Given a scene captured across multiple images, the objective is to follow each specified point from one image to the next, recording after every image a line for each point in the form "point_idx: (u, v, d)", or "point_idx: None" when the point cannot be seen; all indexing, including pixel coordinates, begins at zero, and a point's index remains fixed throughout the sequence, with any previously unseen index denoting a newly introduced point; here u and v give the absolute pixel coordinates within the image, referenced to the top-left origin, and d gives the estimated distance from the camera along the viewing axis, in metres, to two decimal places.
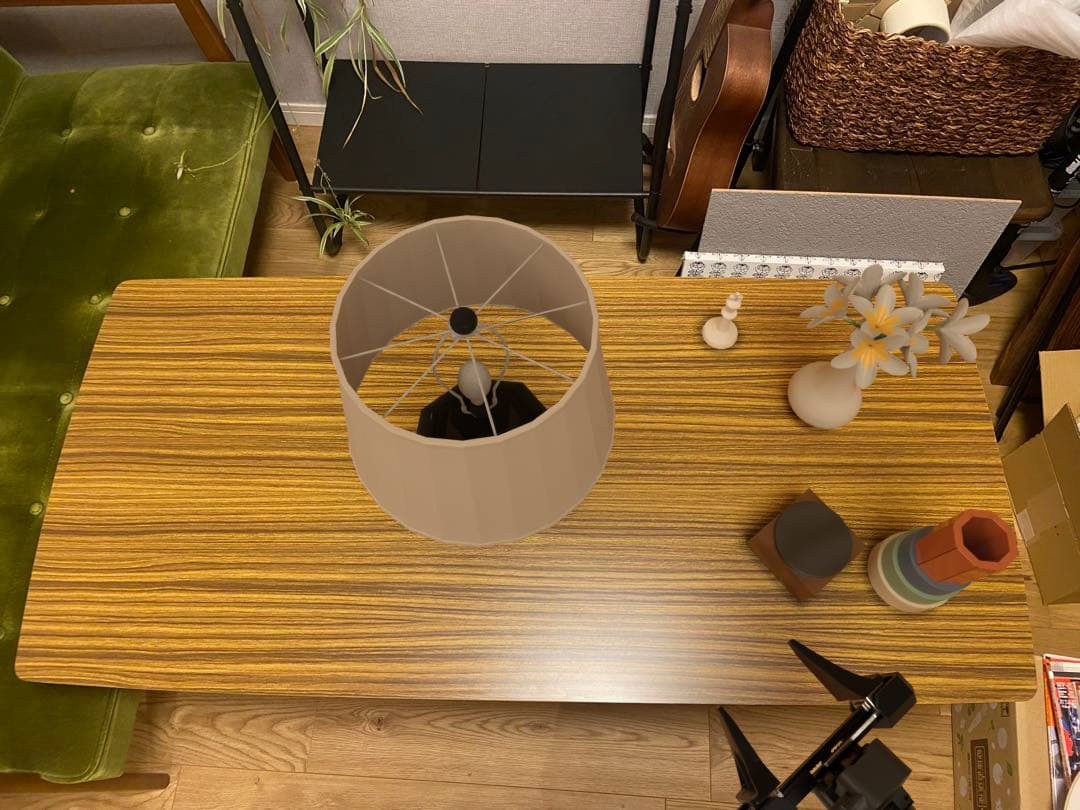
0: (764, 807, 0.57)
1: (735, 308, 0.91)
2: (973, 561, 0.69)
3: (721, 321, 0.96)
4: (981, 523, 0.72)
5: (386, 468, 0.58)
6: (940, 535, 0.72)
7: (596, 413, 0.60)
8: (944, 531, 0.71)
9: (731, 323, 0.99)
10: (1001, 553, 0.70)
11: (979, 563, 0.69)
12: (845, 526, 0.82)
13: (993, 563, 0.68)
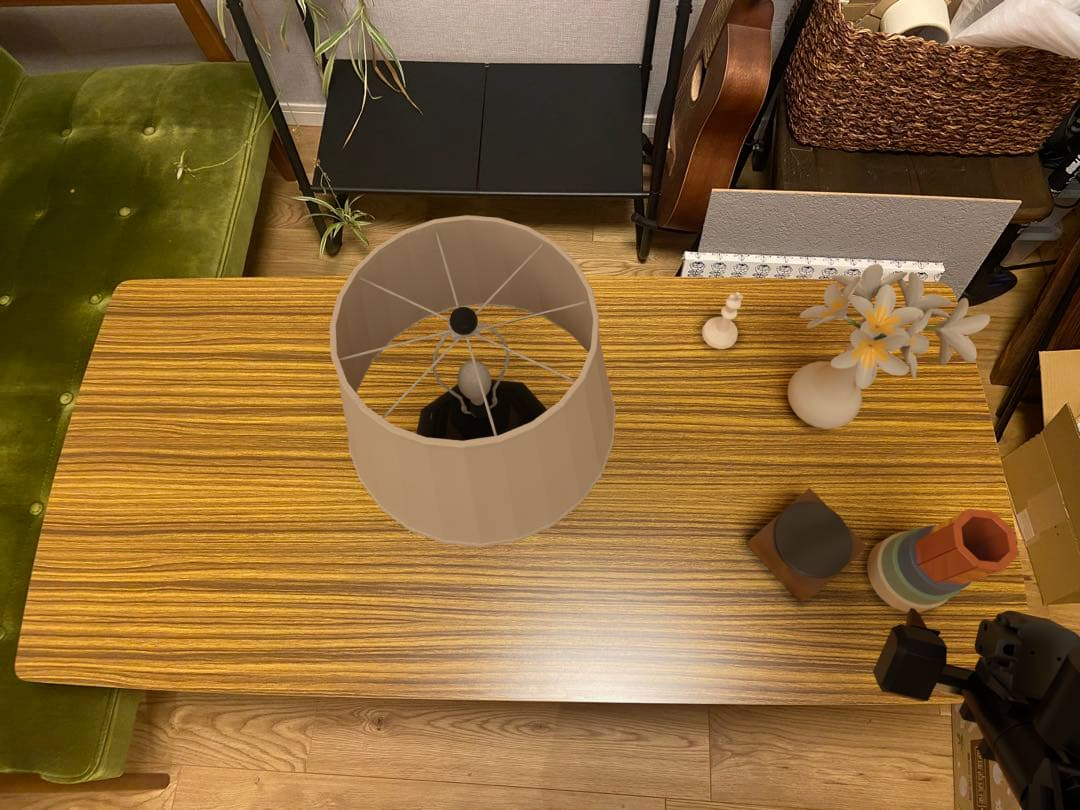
0: (915, 629, 0.62)
1: (735, 308, 0.91)
2: (973, 561, 0.69)
3: (721, 321, 0.96)
4: (981, 523, 0.72)
5: (386, 468, 0.58)
6: (940, 535, 0.72)
7: (596, 413, 0.60)
8: (944, 531, 0.71)
9: (731, 323, 0.99)
10: (1001, 553, 0.70)
11: (979, 563, 0.69)
12: (845, 526, 0.82)
13: (993, 563, 0.68)
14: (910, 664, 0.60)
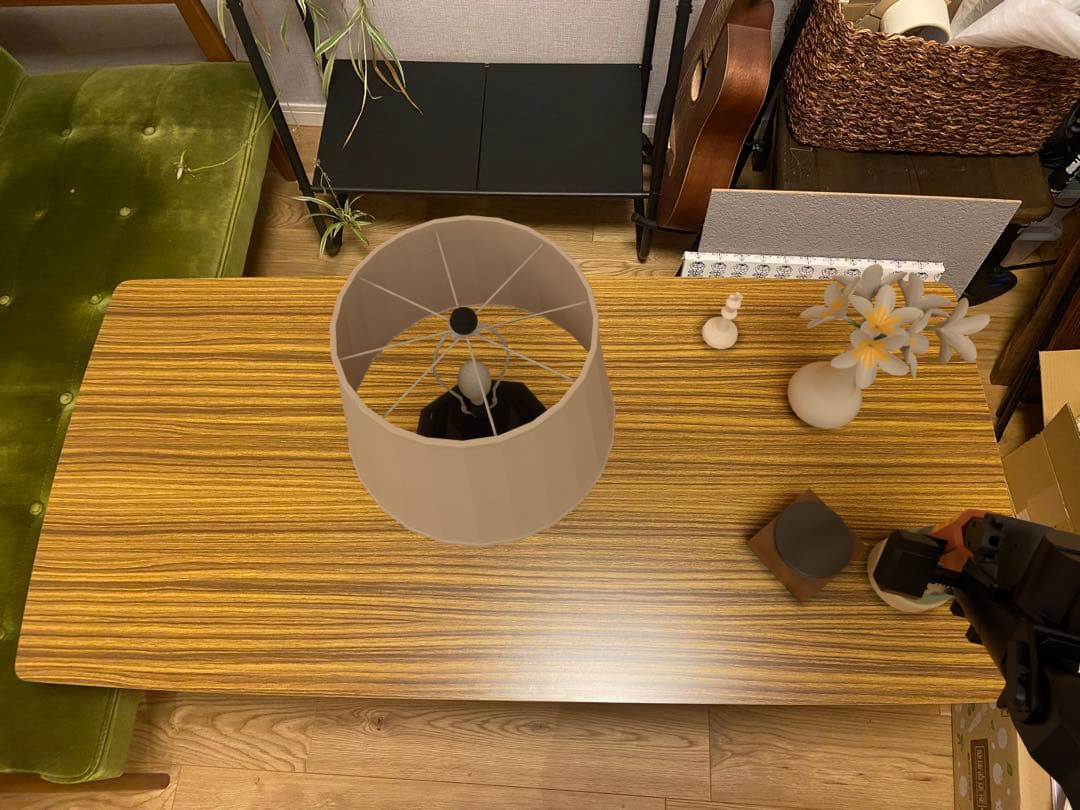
0: (911, 534, 0.69)
1: (735, 308, 0.91)
2: None
3: (721, 321, 0.96)
4: None
5: (386, 468, 0.58)
6: (940, 535, 0.72)
7: (596, 413, 0.60)
8: (944, 531, 0.71)
9: (731, 323, 0.99)
10: None
11: None
12: (845, 526, 0.82)
13: None
14: (906, 562, 0.67)
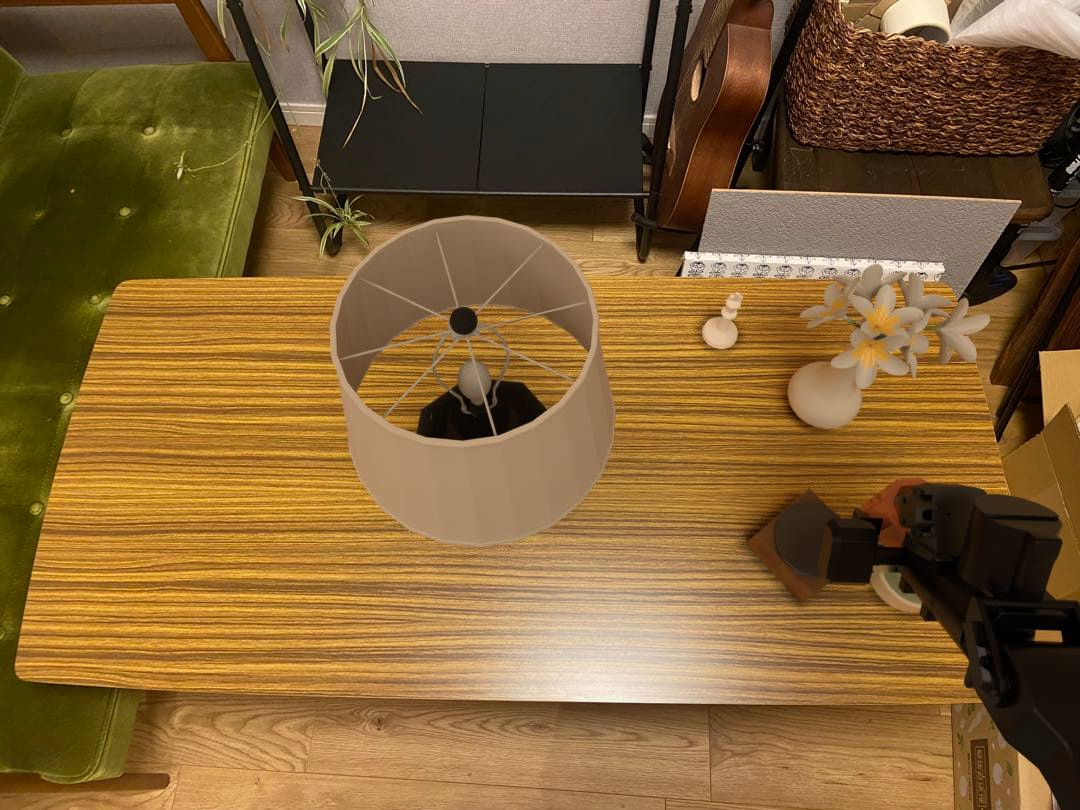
0: (846, 519, 0.66)
1: (735, 308, 0.91)
2: None
3: (721, 321, 0.96)
4: (911, 490, 0.70)
5: (386, 468, 0.58)
6: (874, 511, 0.70)
7: (596, 413, 0.60)
8: (877, 507, 0.70)
9: (731, 323, 0.99)
10: None
11: None
12: None
13: None
14: (847, 551, 0.65)
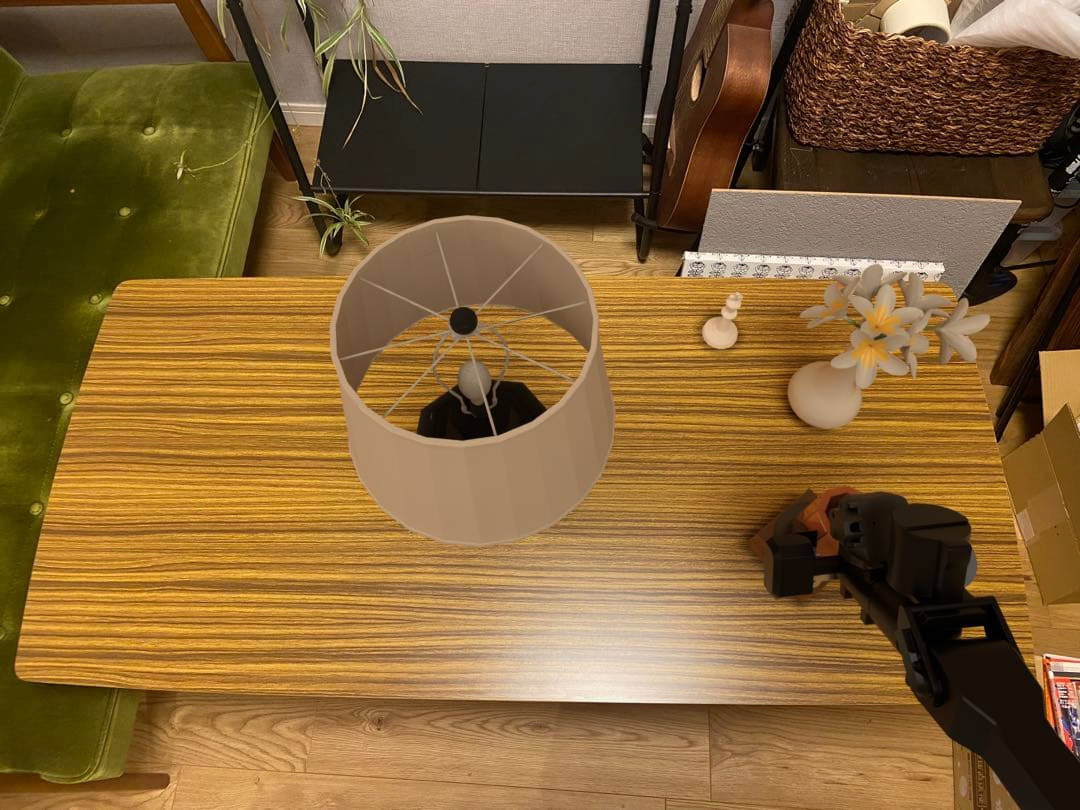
0: (784, 536, 0.70)
1: (735, 308, 0.91)
2: None
3: (721, 321, 0.96)
4: (841, 497, 0.75)
5: (386, 468, 0.58)
6: (810, 522, 0.74)
7: (596, 413, 0.60)
8: (812, 518, 0.73)
9: (731, 323, 0.99)
10: None
11: None
12: None
13: None
14: (788, 568, 0.68)
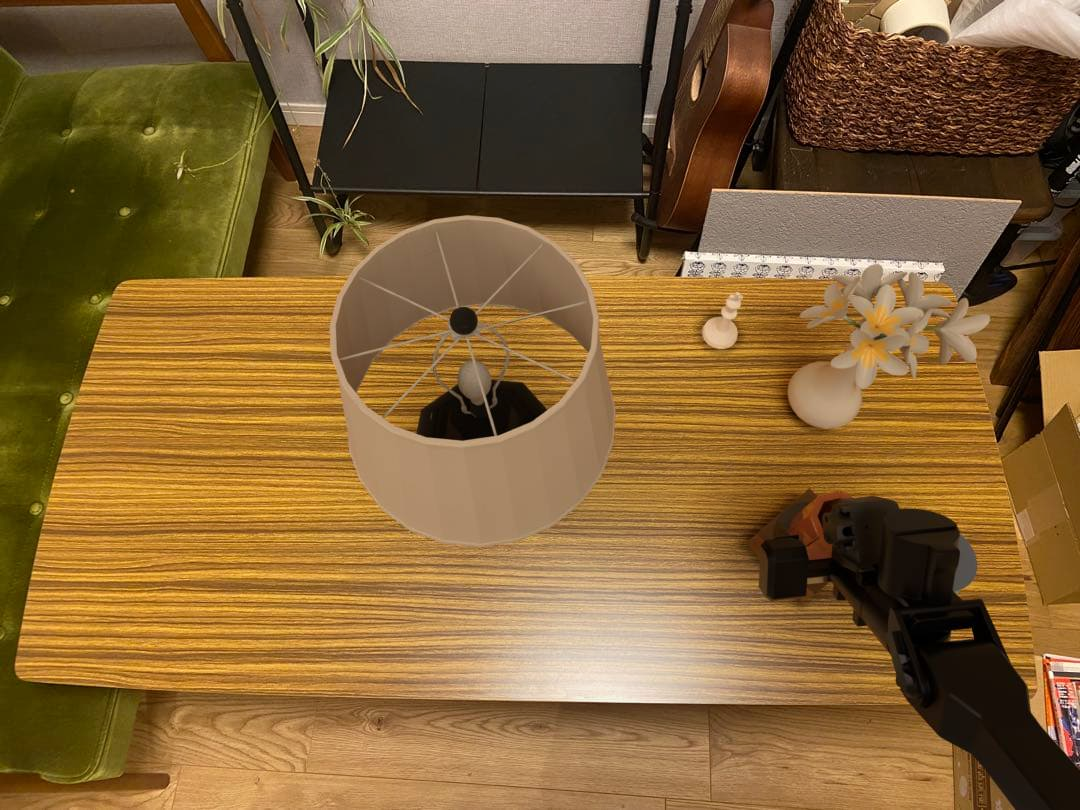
0: (778, 540, 0.72)
1: (735, 308, 0.91)
2: None
3: (721, 321, 0.96)
4: (833, 502, 0.76)
5: (386, 468, 0.58)
6: (803, 526, 0.76)
7: (596, 413, 0.60)
8: (805, 522, 0.75)
9: (731, 323, 0.99)
10: None
11: None
12: None
13: None
14: (782, 570, 0.70)
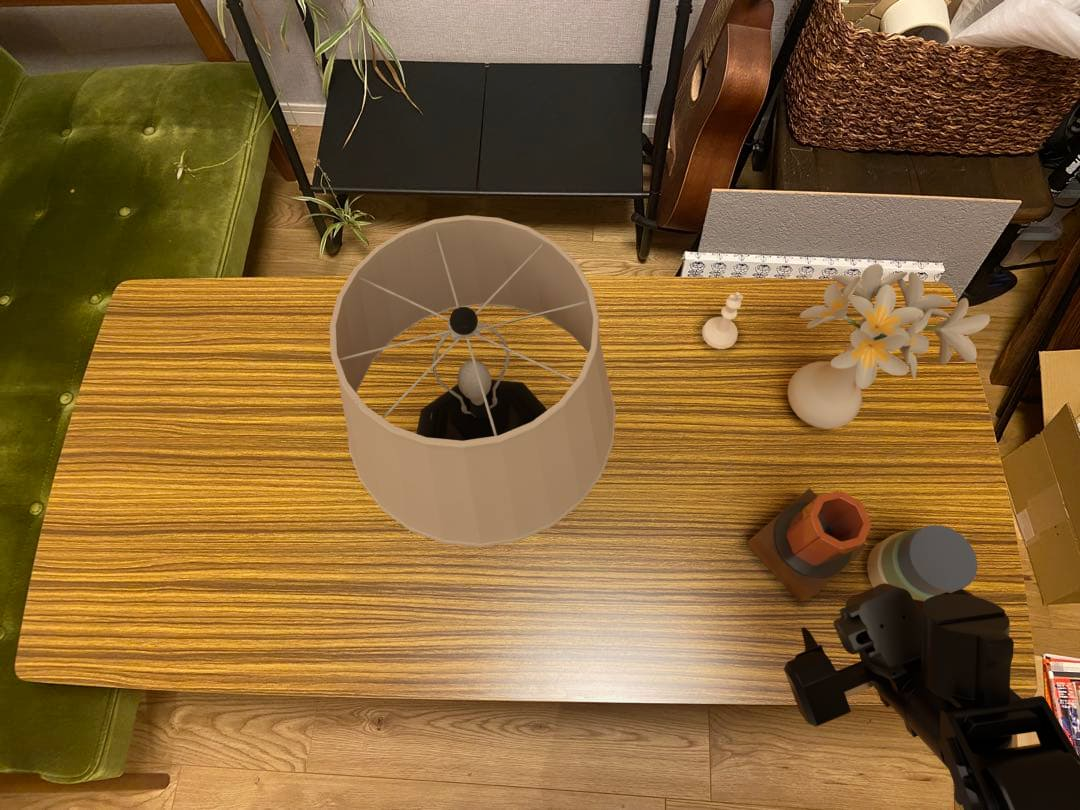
0: (801, 657, 0.66)
1: (735, 308, 0.91)
2: (837, 544, 0.73)
3: (721, 321, 0.96)
4: (833, 502, 0.76)
5: (386, 468, 0.58)
6: (803, 526, 0.76)
7: (596, 413, 0.60)
8: (805, 522, 0.75)
9: (731, 323, 0.99)
10: (858, 525, 0.75)
11: (842, 544, 0.73)
12: None
13: (853, 540, 0.73)
14: (813, 693, 0.63)
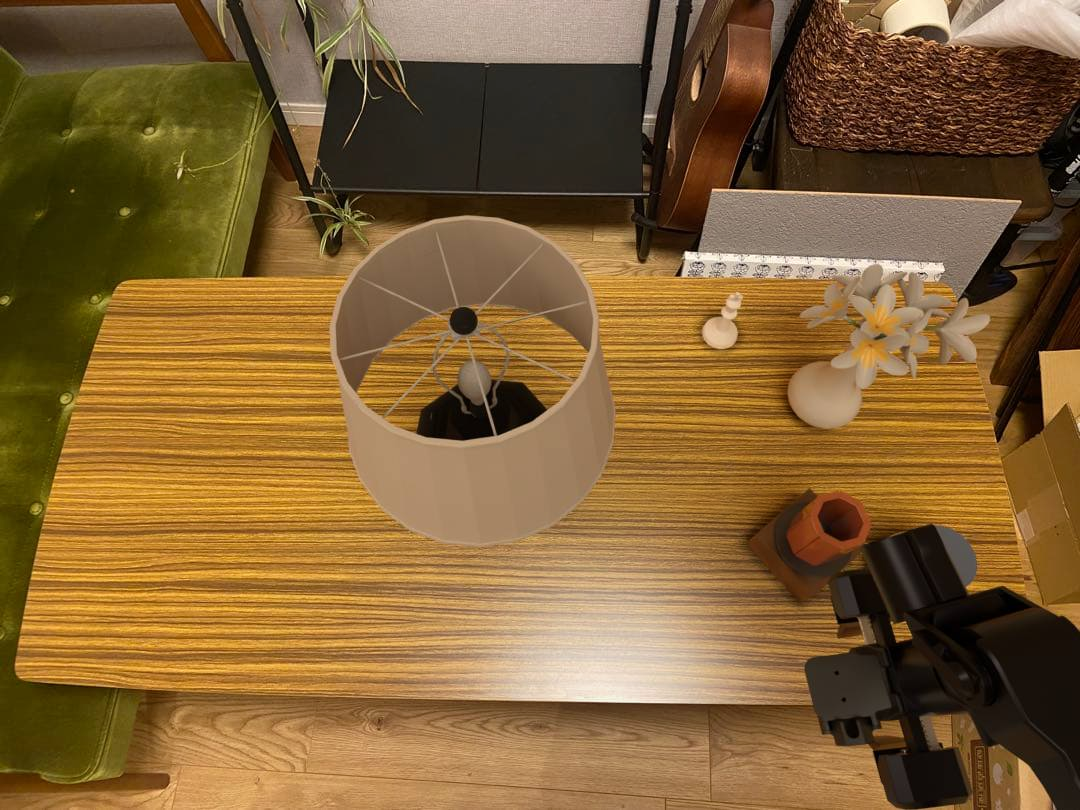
0: (884, 781, 0.58)
1: (735, 308, 0.91)
2: (837, 544, 0.73)
3: (721, 321, 0.96)
4: (833, 502, 0.76)
5: (386, 468, 0.58)
6: (803, 526, 0.76)
7: (596, 413, 0.60)
8: (805, 522, 0.75)
9: (731, 323, 0.99)
10: (858, 525, 0.75)
11: (842, 544, 0.73)
12: None
13: (853, 540, 0.73)
14: (924, 790, 0.55)
